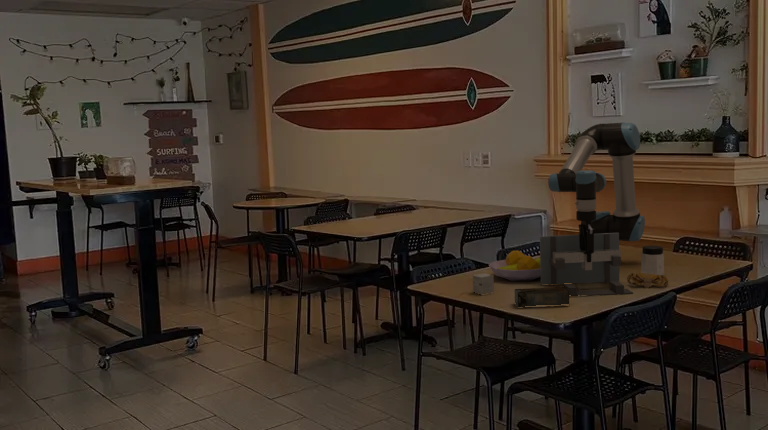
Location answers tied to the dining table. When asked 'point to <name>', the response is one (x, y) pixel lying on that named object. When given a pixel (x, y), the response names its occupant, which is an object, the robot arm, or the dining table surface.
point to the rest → (614, 290)
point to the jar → (652, 260)
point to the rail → (580, 256)
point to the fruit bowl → (517, 267)
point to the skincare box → (483, 283)
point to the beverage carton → (541, 296)
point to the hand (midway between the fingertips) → (586, 268)
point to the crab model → (647, 279)
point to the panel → (574, 271)
